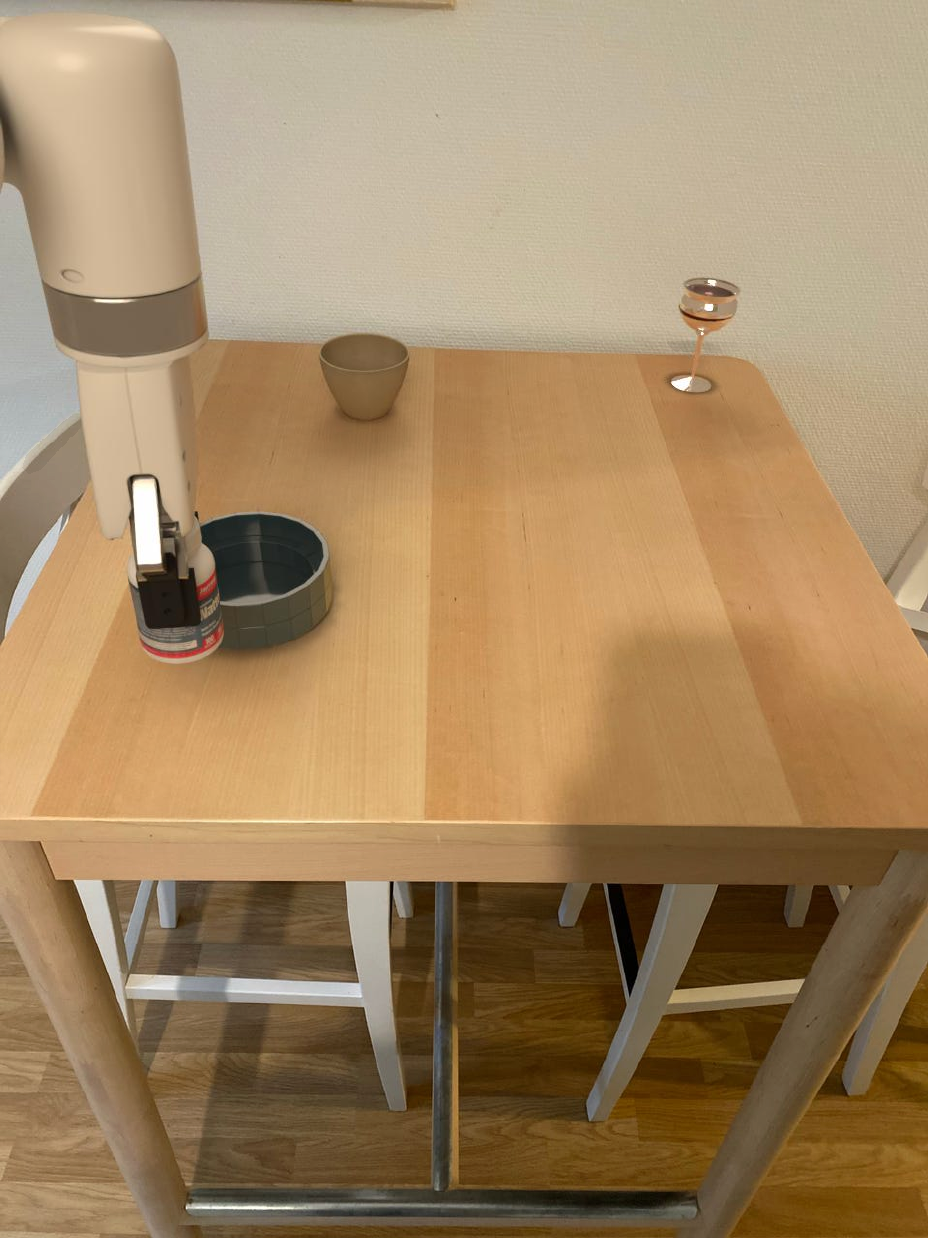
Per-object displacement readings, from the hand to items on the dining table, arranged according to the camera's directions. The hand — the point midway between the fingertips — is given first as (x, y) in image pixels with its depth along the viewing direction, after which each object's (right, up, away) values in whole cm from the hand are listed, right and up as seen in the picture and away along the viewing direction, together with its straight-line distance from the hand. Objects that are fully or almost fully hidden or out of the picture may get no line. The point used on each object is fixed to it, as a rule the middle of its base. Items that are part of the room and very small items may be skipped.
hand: (176, 591), depth 57 cm
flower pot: (+7, +22, +47) cm, 52 cm away
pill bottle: (0, -3, +3) cm, 4 cm away
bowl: (0, 0, +19) cm, 19 cm away
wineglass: (+46, +28, +56) cm, 78 cm away
